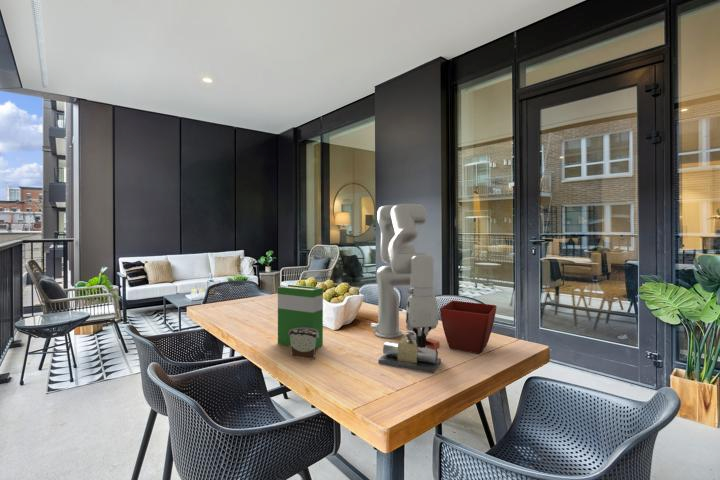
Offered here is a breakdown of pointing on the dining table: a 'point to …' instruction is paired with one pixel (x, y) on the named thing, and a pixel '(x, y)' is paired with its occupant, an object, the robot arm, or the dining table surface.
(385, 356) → the valve body
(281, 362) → the dining table surface
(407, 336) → the valve lever
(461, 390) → the dining table surface
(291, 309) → the green cereal box
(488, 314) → the plant pot
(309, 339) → the food container
